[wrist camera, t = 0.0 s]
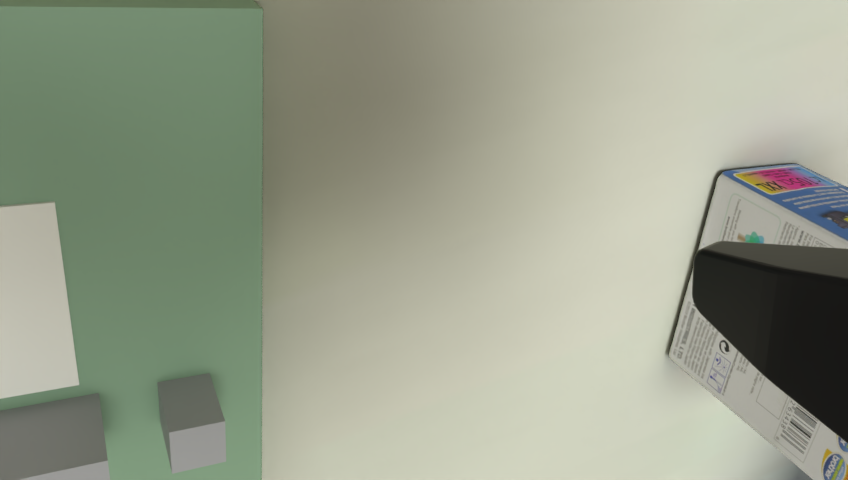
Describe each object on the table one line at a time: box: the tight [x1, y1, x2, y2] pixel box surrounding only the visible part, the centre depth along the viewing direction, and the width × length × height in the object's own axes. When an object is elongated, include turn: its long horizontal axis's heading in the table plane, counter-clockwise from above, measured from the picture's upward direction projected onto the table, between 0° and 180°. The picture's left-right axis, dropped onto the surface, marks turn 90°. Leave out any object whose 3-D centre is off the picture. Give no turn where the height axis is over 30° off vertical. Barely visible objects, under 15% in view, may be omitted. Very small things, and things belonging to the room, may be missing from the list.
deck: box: [0, 0, 263, 480], centre depth 21 cm, size 18×14×4 cm
